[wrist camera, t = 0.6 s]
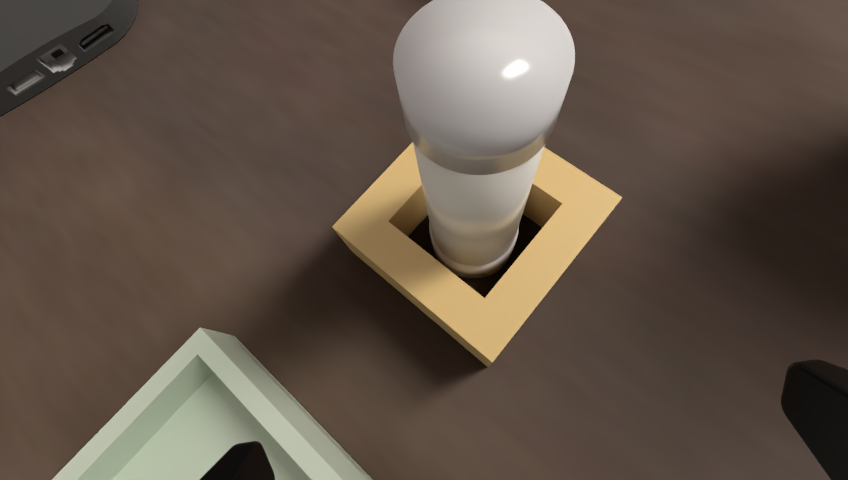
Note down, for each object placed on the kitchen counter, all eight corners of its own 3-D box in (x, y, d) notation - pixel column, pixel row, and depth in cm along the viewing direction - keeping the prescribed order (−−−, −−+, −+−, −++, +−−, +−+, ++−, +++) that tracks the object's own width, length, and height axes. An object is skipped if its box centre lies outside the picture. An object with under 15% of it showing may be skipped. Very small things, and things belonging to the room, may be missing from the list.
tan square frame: (598, 226, 22) (622, 197, 19) (487, 367, 20) (492, 362, 17) (460, 133, 24) (459, 92, 21) (351, 250, 23) (331, 226, 19)
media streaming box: (80, -80, 34) (45, -122, 32) (160, 23, 30) (129, -15, 27) (-94, 21, 32) (-148, -15, 30) (-36, 148, 28) (-92, 120, 25)
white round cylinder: (531, 233, 22) (612, 38, 10) (479, 295, 21) (499, 166, 9) (466, 187, 23) (468, -39, 11) (415, 244, 23) (357, 69, 10)
